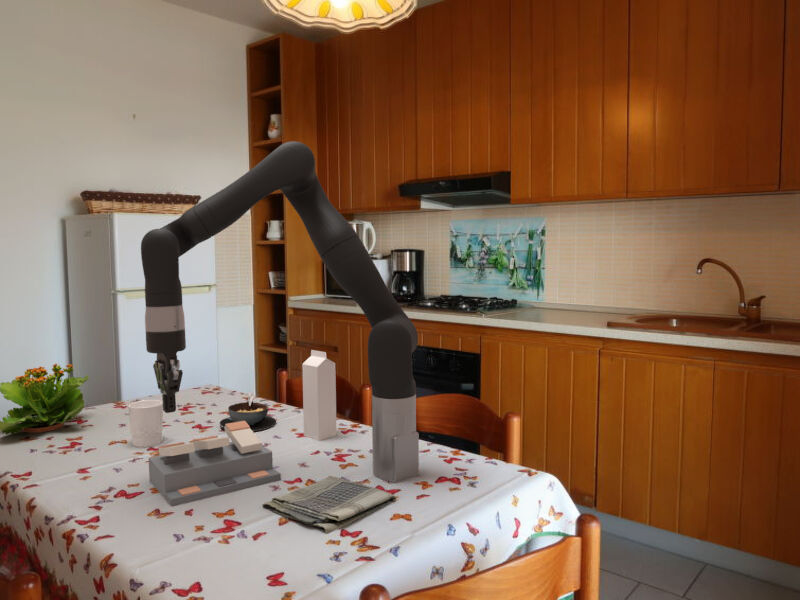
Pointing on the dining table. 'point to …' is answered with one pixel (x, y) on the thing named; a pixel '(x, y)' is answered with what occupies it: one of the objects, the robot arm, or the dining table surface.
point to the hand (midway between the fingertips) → (169, 411)
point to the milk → (319, 396)
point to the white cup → (146, 422)
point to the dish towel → (330, 503)
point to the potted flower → (42, 400)
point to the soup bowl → (250, 415)
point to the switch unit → (210, 473)
